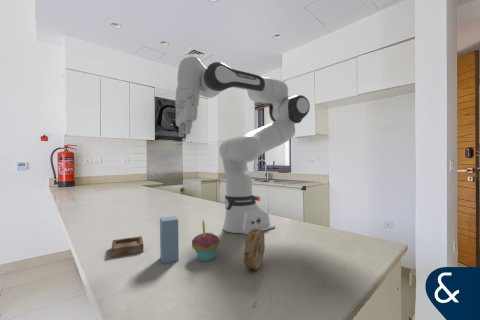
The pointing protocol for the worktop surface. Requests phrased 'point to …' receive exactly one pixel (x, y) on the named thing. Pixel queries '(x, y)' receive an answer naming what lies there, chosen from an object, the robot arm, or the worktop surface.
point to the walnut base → (127, 246)
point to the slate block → (169, 239)
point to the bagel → (254, 249)
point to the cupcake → (205, 245)
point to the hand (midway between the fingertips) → (184, 135)
